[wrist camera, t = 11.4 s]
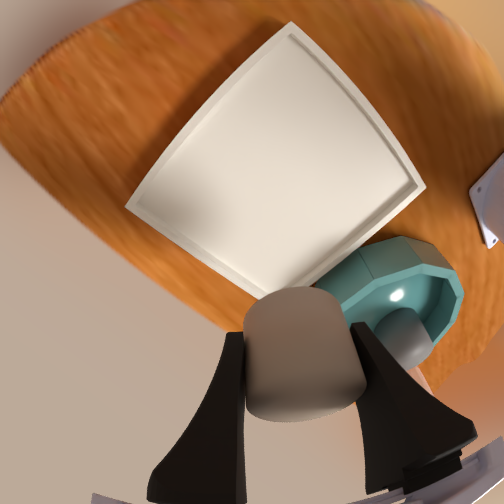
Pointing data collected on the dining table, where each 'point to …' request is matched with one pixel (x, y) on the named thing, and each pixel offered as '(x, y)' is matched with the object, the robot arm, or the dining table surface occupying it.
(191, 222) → the parts tray
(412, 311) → the charcoal stone
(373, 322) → the bowl
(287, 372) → the brown stone
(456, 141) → the dining table surface
